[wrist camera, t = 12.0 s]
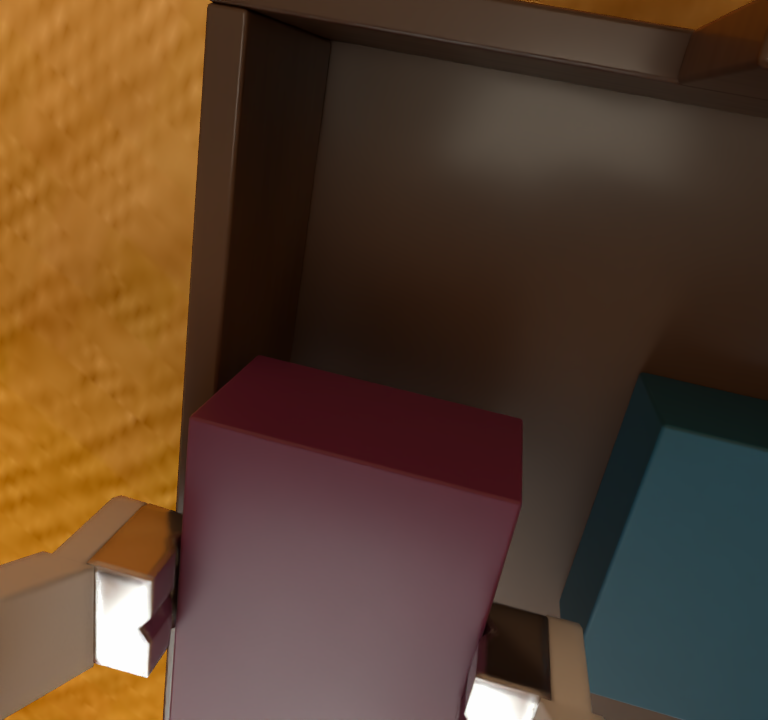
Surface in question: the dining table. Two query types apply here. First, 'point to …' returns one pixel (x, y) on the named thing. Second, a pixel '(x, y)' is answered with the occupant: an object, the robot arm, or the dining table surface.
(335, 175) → the dark brown open tray
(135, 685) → the dining table surface
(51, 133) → the dining table surface
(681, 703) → the teal packet
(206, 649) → the block
